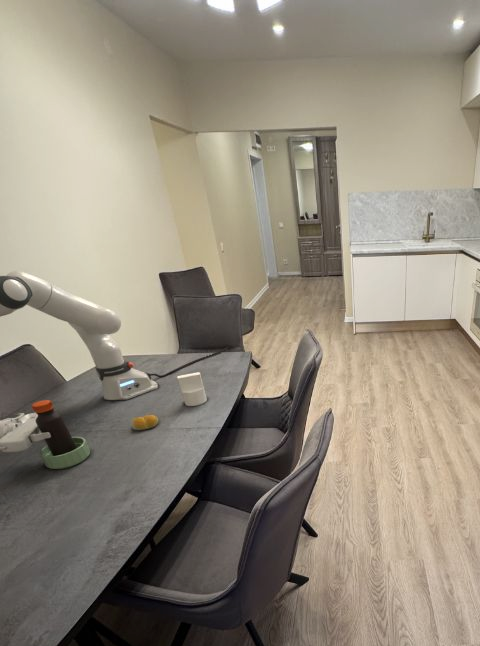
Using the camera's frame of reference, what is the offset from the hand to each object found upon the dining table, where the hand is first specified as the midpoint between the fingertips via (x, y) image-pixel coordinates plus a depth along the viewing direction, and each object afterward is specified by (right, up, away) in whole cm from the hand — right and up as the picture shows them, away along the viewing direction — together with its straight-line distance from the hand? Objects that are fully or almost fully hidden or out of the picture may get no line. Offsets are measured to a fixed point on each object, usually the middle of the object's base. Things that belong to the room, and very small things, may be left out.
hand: (56, 428), depth 125 cm
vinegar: (0, -10, +5) cm, 11 cm away
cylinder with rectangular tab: (+27, +12, +43) cm, 52 cm away
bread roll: (+15, +1, +25) cm, 29 cm away
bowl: (0, -10, +6) cm, 12 cm away
